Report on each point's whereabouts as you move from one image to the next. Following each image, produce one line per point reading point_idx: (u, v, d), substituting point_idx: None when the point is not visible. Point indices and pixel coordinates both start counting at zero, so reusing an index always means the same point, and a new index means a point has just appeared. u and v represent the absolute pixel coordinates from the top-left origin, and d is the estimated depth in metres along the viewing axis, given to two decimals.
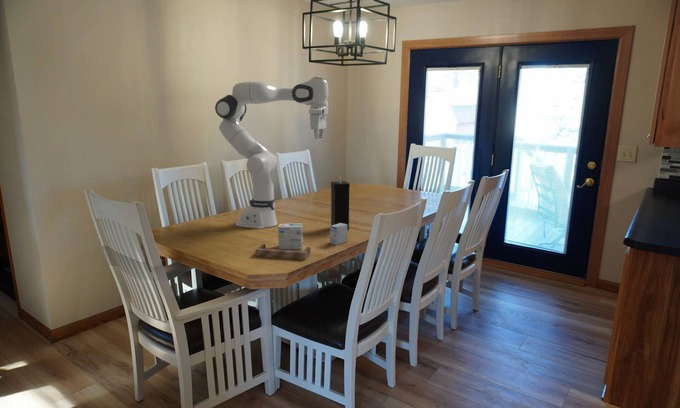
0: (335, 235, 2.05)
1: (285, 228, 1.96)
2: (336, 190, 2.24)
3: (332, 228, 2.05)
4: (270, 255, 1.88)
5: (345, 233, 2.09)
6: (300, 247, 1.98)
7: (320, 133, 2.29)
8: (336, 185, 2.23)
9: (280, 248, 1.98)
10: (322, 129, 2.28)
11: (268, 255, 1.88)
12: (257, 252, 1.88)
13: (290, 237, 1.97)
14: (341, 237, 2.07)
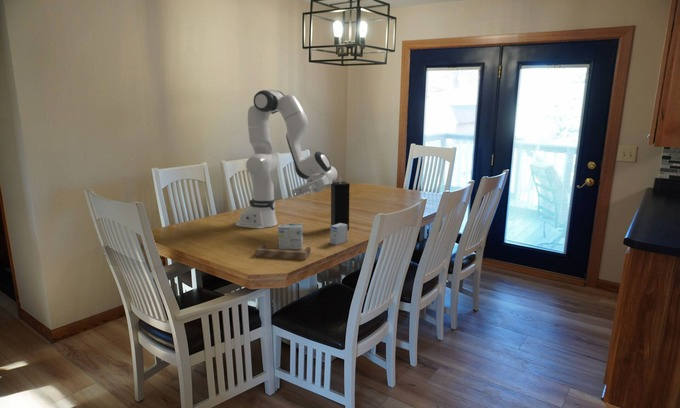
0: (335, 235, 2.05)
1: (285, 228, 1.96)
2: (336, 190, 2.24)
3: (332, 228, 2.05)
4: (270, 255, 1.88)
5: (345, 233, 2.09)
6: (300, 247, 1.98)
7: None
8: (336, 185, 2.23)
9: (280, 248, 1.98)
10: (299, 193, 2.13)
11: (268, 255, 1.88)
12: (257, 252, 1.88)
13: (290, 237, 1.97)
14: (341, 237, 2.07)
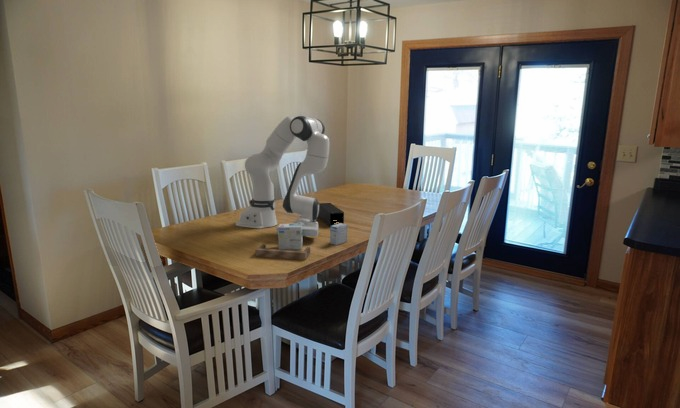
0: (335, 235, 2.05)
1: (285, 228, 1.96)
2: (320, 204, 2.55)
3: (332, 228, 2.05)
4: (270, 255, 1.88)
5: (345, 233, 2.09)
6: (300, 247, 1.98)
7: None
8: (319, 203, 2.57)
9: (280, 248, 1.98)
10: None
11: (268, 255, 1.88)
12: (257, 252, 1.88)
13: (290, 237, 1.97)
14: (341, 237, 2.07)
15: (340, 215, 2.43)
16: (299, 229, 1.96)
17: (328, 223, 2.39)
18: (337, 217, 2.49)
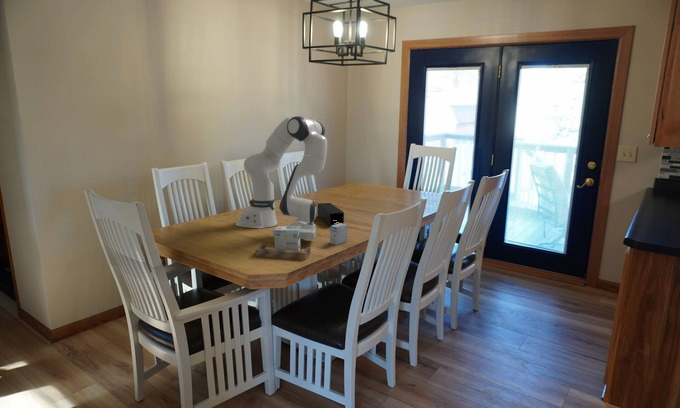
0: (335, 235, 2.05)
1: (281, 231, 1.91)
2: (320, 204, 2.55)
3: (332, 228, 2.05)
4: (270, 255, 1.88)
5: (345, 233, 2.09)
6: None
7: None
8: (319, 203, 2.57)
9: None
10: None
11: (268, 255, 1.88)
12: (257, 252, 1.88)
13: (287, 241, 1.92)
14: (341, 237, 2.07)
15: (340, 215, 2.43)
16: (296, 232, 1.91)
17: (328, 223, 2.39)
18: (337, 217, 2.49)
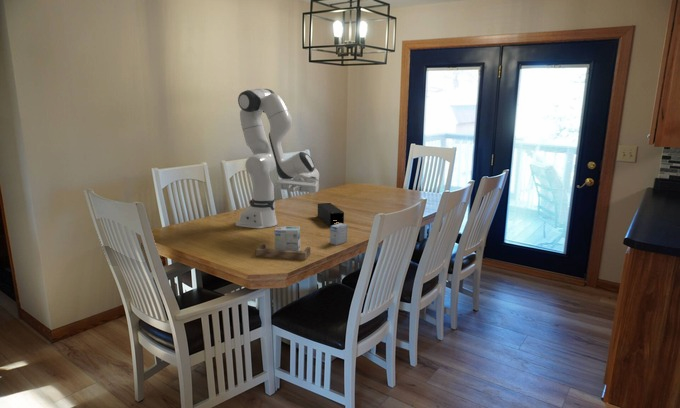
0: (335, 235, 2.05)
1: (281, 231, 1.91)
2: (320, 204, 2.55)
3: (332, 228, 2.05)
4: (270, 255, 1.88)
5: (345, 233, 2.09)
6: None
7: None
8: (319, 203, 2.57)
9: None
10: None
11: (268, 255, 1.88)
12: (257, 252, 1.88)
13: (287, 241, 1.92)
14: (341, 237, 2.07)
15: (340, 215, 2.43)
16: (296, 232, 1.91)
17: (328, 223, 2.39)
18: (337, 217, 2.49)
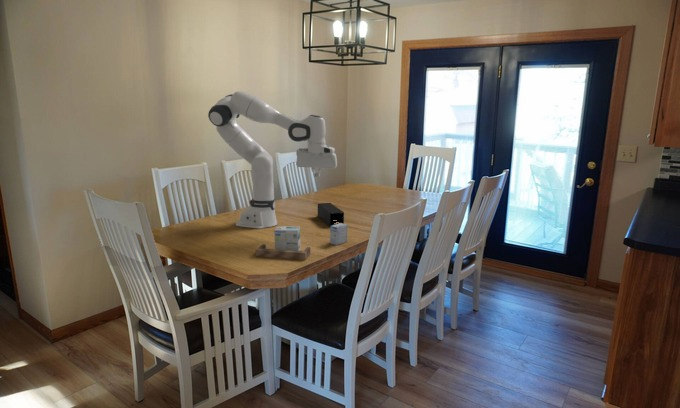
0: (335, 235, 2.05)
1: (281, 231, 1.91)
2: (320, 204, 2.55)
3: (332, 228, 2.05)
4: (270, 255, 1.88)
5: (345, 233, 2.09)
6: None
7: (314, 171, 2.18)
8: (319, 203, 2.57)
9: None
10: (314, 167, 2.19)
11: (268, 255, 1.88)
12: (257, 252, 1.88)
13: (287, 241, 1.92)
14: (341, 237, 2.07)
15: (340, 215, 2.43)
16: (296, 232, 1.91)
17: (328, 223, 2.39)
18: (337, 217, 2.49)
